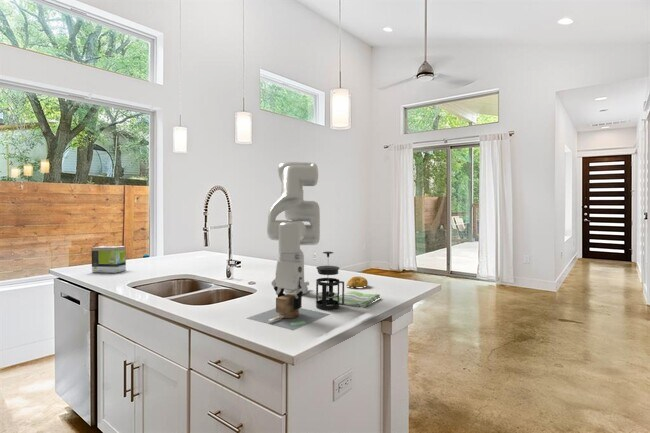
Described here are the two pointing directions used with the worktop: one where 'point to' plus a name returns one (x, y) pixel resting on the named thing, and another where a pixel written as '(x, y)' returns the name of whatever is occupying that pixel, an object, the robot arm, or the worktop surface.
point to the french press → (325, 294)
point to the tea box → (108, 259)
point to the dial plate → (289, 323)
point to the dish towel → (357, 299)
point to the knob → (286, 307)
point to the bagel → (357, 282)
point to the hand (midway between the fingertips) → (289, 306)
